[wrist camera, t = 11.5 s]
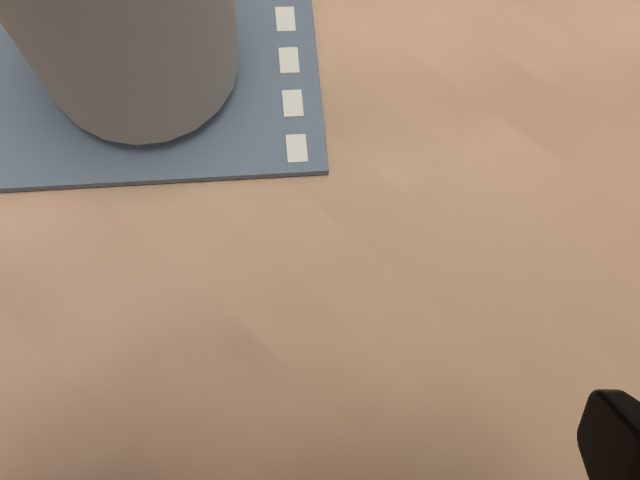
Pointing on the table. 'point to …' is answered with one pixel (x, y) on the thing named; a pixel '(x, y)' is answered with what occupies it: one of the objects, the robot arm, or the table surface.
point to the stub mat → (189, 149)
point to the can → (130, 61)
